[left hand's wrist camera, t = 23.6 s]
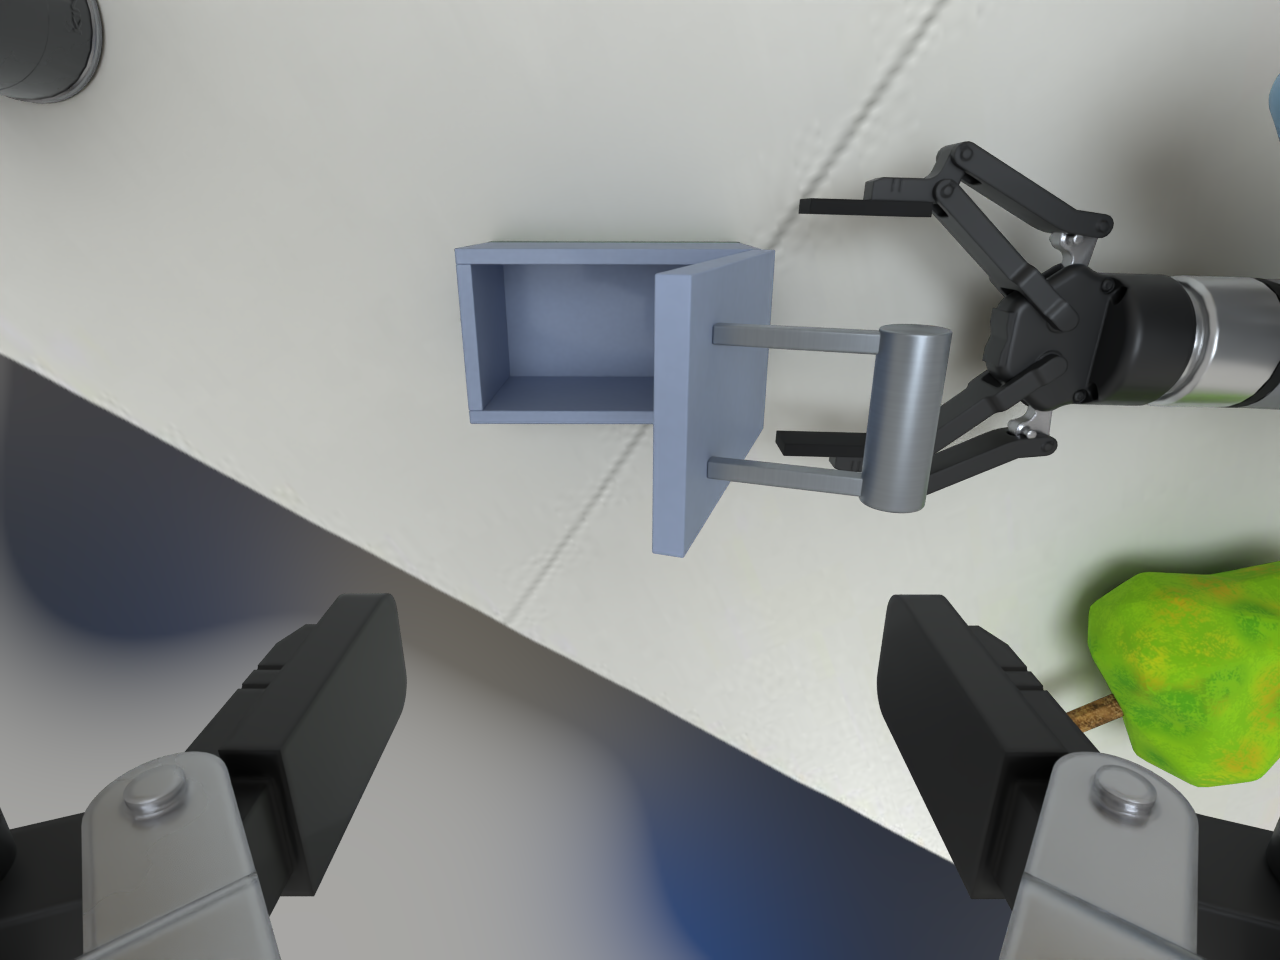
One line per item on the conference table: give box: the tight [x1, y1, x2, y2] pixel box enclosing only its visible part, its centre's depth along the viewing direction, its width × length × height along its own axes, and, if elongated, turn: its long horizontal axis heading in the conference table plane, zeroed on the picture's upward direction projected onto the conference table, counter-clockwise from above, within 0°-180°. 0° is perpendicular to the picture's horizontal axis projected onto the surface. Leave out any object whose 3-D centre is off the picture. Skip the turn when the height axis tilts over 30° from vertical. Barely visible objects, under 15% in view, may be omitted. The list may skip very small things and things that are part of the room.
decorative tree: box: [1067, 561, 1280, 787], centre depth 52 cm, size 18×10×30 cm
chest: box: [455, 241, 761, 424], centre depth 43 cm, size 16×10×10 cm, turn 90°
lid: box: [652, 250, 952, 558], centre depth 29 cm, size 17×10×9 cm
